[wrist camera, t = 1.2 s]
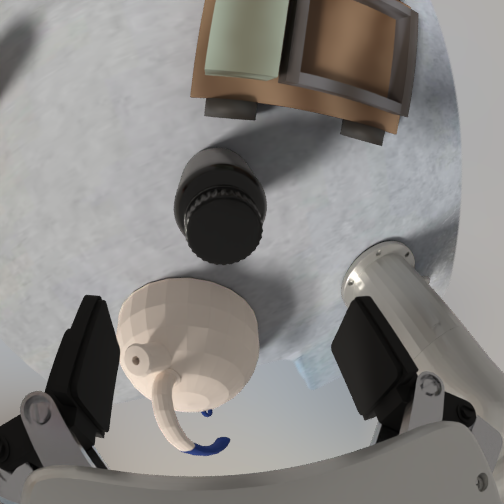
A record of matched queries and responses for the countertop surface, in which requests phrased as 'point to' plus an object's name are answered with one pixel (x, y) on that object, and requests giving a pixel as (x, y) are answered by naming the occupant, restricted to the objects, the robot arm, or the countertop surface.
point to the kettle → (187, 351)
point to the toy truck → (309, 60)
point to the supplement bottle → (220, 206)
